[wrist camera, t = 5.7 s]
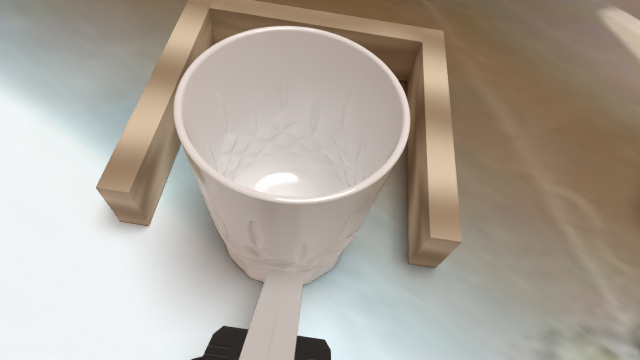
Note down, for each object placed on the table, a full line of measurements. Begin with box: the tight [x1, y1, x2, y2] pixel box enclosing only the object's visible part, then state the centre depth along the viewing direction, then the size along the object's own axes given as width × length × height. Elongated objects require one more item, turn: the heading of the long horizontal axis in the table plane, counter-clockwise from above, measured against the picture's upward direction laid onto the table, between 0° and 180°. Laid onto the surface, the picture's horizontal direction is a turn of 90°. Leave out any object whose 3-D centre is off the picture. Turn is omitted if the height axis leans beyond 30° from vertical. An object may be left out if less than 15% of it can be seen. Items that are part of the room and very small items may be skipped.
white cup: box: [174, 26, 410, 284], centre depth 17 cm, size 8×8×10 cm
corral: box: [96, 0, 462, 268], centre depth 24 cm, size 16×17×4 cm
